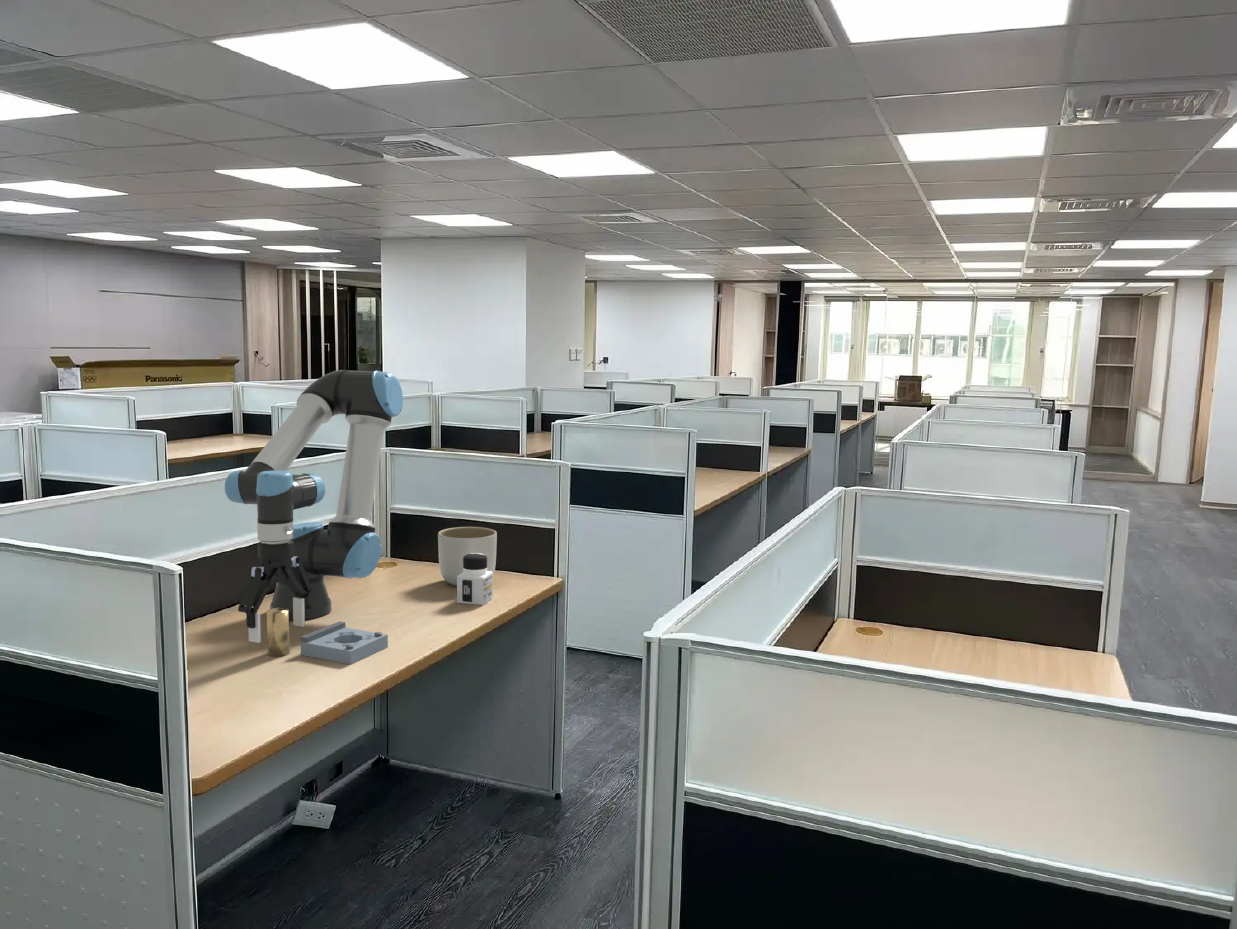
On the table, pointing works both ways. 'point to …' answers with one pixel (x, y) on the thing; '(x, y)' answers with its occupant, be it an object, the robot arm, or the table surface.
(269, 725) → the table surface
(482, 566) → the container
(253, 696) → the table surface
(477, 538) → the planter
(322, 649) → the jig
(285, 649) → the brass cylinder
